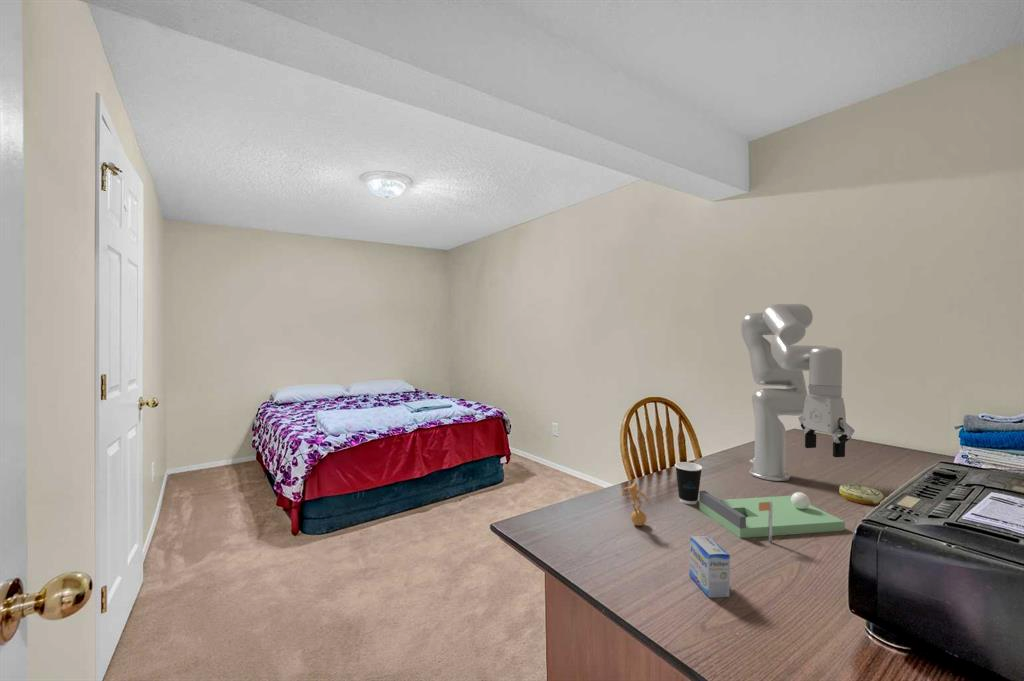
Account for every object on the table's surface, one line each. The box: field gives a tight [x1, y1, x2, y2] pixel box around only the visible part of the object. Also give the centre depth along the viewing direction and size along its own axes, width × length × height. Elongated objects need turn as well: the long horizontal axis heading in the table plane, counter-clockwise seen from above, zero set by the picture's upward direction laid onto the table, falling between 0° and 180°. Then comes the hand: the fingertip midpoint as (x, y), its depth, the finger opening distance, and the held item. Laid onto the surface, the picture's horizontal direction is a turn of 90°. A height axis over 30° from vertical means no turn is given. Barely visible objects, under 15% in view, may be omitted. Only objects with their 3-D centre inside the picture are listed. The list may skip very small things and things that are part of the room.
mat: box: [698, 490, 846, 539], centre depth 120 cm, size 18×30×5 cm, turn 98°
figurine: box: [621, 482, 651, 527], centre depth 116 cm, size 8×6×12 cm
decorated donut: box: [838, 483, 885, 506], centre depth 134 cm, size 10×11×4 cm
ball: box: [790, 491, 811, 509], centre depth 121 cm, size 4×4×4 cm
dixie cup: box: [674, 461, 703, 505], centre depth 133 cm, size 8×8×11 cm
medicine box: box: [688, 535, 731, 599], centre depth 88 cm, size 8×4×9 cm, turn 5°
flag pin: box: [759, 501, 773, 544], centre depth 107 cm, size 1×4×10 cm, turn 99°
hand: (824, 452), depth 122 cm, fingers open, 8 cm apart
